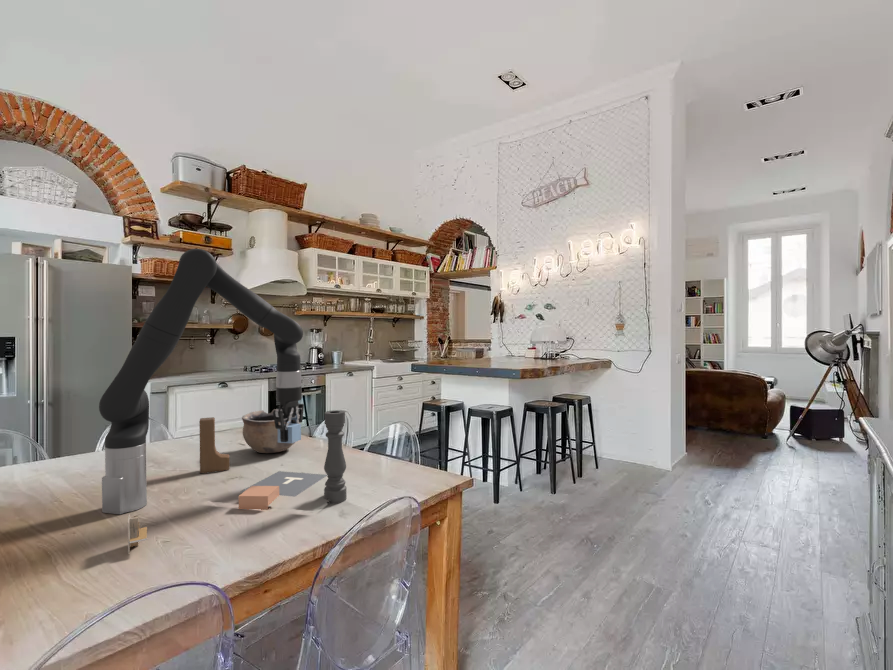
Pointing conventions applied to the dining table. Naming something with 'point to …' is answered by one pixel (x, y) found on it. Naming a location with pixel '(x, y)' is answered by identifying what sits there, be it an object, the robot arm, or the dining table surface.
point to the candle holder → (335, 458)
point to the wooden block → (210, 449)
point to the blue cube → (292, 433)
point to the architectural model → (135, 532)
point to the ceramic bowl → (262, 432)
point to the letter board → (290, 482)
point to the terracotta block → (258, 497)
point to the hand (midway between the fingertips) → (289, 439)
